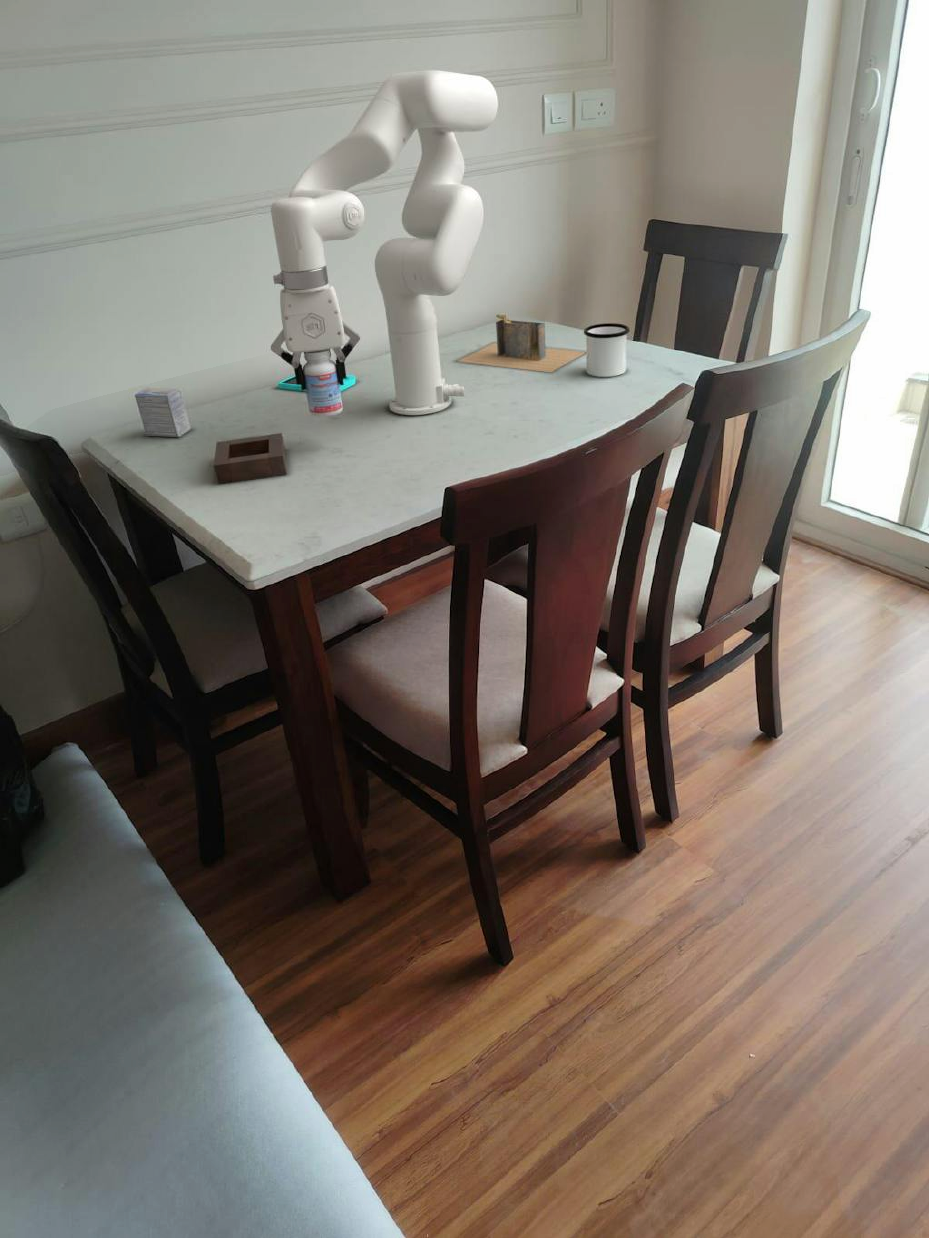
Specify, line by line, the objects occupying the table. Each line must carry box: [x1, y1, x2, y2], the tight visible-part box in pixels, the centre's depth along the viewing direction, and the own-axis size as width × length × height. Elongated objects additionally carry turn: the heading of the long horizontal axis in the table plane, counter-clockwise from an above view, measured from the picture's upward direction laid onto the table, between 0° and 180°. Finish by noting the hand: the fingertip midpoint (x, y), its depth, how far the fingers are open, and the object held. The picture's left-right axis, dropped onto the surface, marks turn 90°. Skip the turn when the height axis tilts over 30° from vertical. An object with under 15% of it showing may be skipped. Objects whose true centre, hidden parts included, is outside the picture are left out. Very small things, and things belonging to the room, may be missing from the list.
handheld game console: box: [277, 374, 357, 393], centre depth 197 cm, size 10×16×1 cm, turn 60°
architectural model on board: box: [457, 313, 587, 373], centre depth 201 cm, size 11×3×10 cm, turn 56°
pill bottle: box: [302, 349, 344, 418], centre depth 156 cm, size 6×6×11 cm
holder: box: [213, 432, 288, 485], centre depth 157 cm, size 12×12×4 cm
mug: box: [583, 322, 630, 378], centre depth 187 cm, size 12×10×9 cm
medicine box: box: [134, 387, 192, 438], centre depth 175 cm, size 8×4×9 cm, turn 71°
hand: (322, 384), depth 157 cm, fingers closed on pill bottle, 6 cm apart
